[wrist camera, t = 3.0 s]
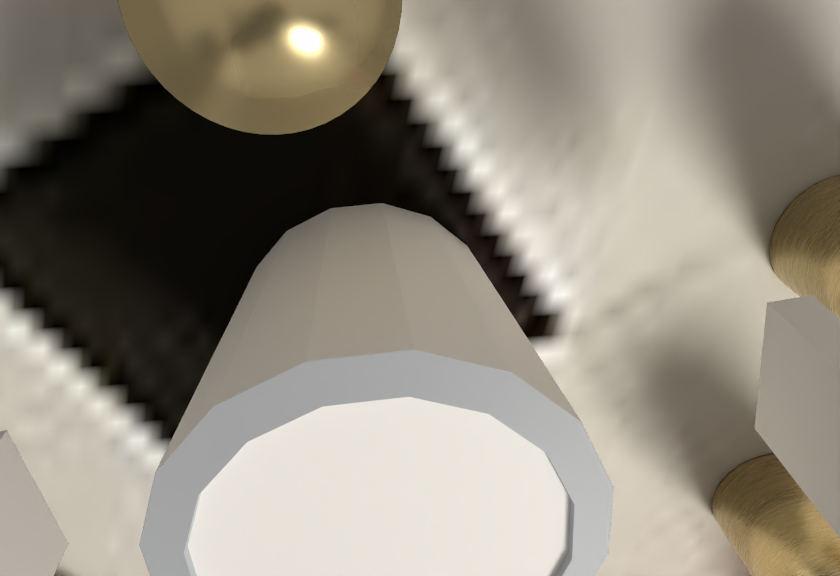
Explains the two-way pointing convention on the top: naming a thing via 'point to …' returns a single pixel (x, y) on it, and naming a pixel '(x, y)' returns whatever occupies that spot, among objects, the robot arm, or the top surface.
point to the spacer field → (351, 79)
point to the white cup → (376, 423)
